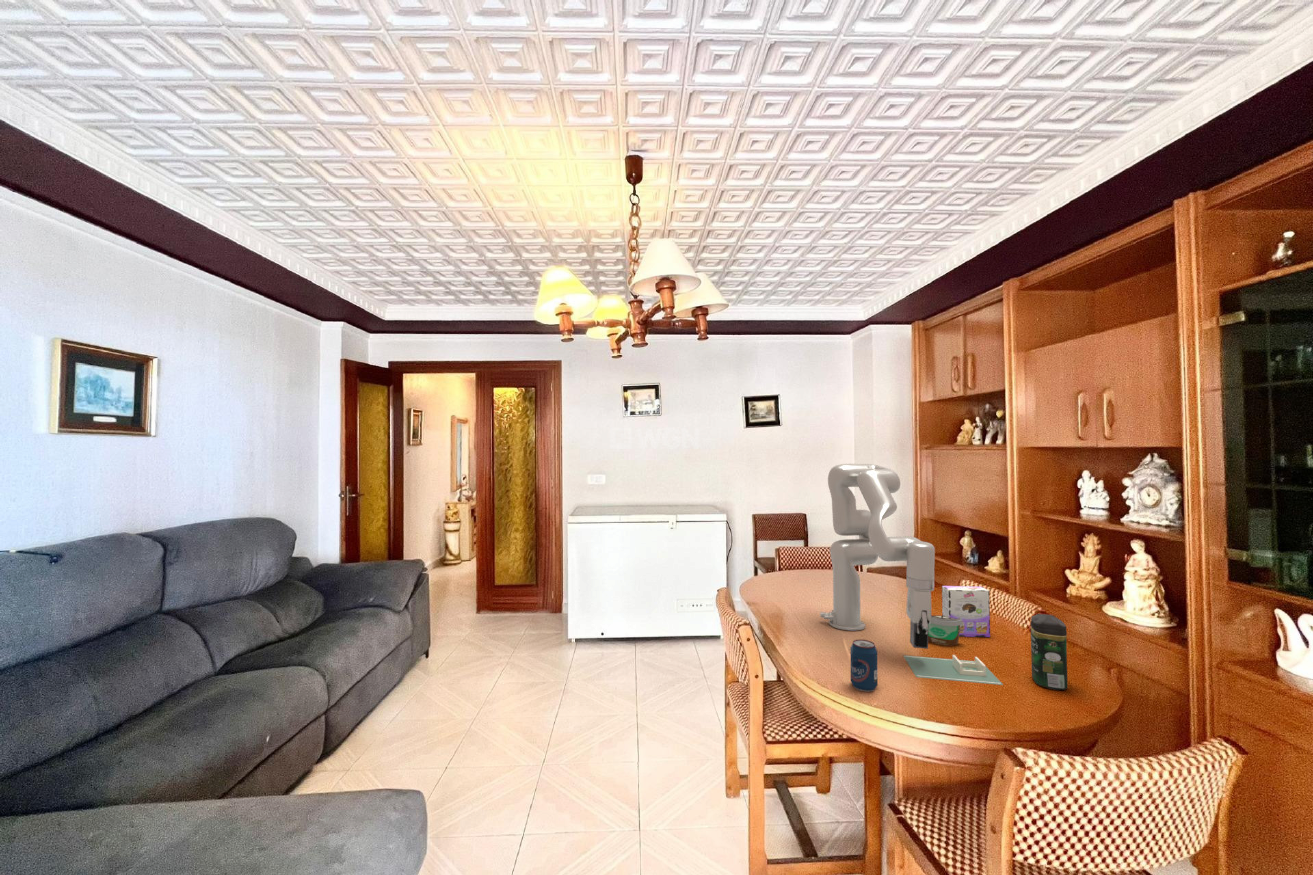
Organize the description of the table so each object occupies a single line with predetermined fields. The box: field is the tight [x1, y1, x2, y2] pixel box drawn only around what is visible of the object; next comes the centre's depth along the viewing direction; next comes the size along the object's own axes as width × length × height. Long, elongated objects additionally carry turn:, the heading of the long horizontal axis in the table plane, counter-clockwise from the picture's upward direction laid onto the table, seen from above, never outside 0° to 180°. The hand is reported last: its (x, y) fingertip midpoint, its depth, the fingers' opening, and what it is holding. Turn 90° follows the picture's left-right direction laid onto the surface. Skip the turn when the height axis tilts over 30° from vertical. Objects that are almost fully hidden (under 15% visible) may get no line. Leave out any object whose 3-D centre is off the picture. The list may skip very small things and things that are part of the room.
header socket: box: [952, 654, 987, 677], centre depth 153 cm, size 7×7×3 cm
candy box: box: [941, 585, 991, 638], centre depth 187 cm, size 14×6×16 cm, turn 84°
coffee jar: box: [1030, 613, 1069, 691], centre depth 148 cm, size 10×8×19 cm
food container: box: [928, 614, 963, 647], centre depth 175 cm, size 12×6×10 cm, turn 62°
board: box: [902, 654, 1004, 686], centre depth 154 cm, size 22×16×1 cm
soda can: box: [850, 639, 879, 693], centre depth 146 cm, size 7×7×12 cm
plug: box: [909, 620, 929, 650], centre depth 160 cm, size 4×4×7 cm
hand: (918, 642), depth 160 cm, fingers closed on plug, 4 cm apart
